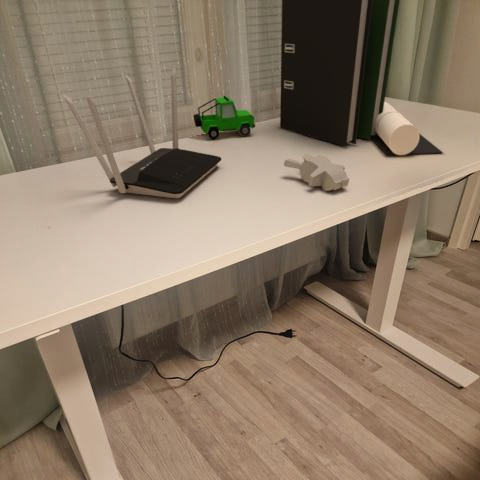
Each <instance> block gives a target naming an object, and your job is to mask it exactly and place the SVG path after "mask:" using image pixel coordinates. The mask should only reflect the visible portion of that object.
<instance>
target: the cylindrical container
mask: <svg viewBox="0 0 480 480" xmlns="http://www.w3.org/2000/svg"><path fill="white" fill-rule="evenodd" d="M375 131H376V133H377V134H378V135H379V137H380V138H381V139H382V140H383V141H384V142H385V144H386V145H387V146H388V147H389V148H390V149H391V151H392V152H393V153H395V154H397V155H396V156H406V155H405V154H408V153H410V152H411V151H413V150H414V149H415V147H416V146H417V144H418V142H419V138H420V135H421V134H420V131H419V129H418V128H417V127H416V126H415V125H414V124H413V123H412V122H411V121H409V120H408V119H407V118H406V117H405V116H404V115H402V114H401V112H399V111H398V110H396V108H394V107H393V106H392V105H391V104H390V103H389V102H387V101H384V108H383V112H382V113H381V114H379V115H378V116H377V118H376V121H375ZM419 134H420V135H419Z"/></svg>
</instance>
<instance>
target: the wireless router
mask: <svg viewBox="0 0 480 480" xmlns="http://www.w3.org/2000/svg"><path fill="white" fill-rule="evenodd" d="M124 77H125V79H126V83H127V86H128V89H129V91H130V94H131V97H132V101H133V103H134V106H135V109H136V112H137V115H138V118H139V121H140V124H141V127H142V129H143V133H144V136H145V139H146V143H147V145H148V147H149V151H150V154H149V155H147V156H145V157H143V158H142V159H141V160H139V161H137V162H136V163H134V164H132V165H130V166H128V167H127V168H126V169H124V170H122V171H120V169H119V167H118V164H117V161H116V159H115V156H114V152H113V150H112V147H111V145H110V142H109V139H108V136H107V134H106V131H105V128H104V126H103V123H102V120H101V117H100V115H99V114H100V113H99V112H98V108H97V106H96V103H94V102H93V100H92V99H91V98H86V101H87V105H88V108H89V110H90V114H91V116H92V118H93V121H94V124H95V128H96V130H97V132H98V135H99V139H100V142H101V144H102V147H103V150H104V153H105V155H106V158H107V161H108V162H107V161H106V159H105V157H104V155H103V153H102V151H101V150H100V148H99V146H98V144H97V143H96V140H95V139H94V137H93V135H92V134H91V132H90V130H89V128H88V126H87V124H86V122H85V121H84V119H83V117H82V116H81V114H80V112H79V110H78V108H77V107H76V105H75V103H74V101H73V99H72V98H71V97H70V96H68V95H67V94H65V93H64V94H63V95H62V97H63V99H64V100H65V102H66V104H67V106H68V108H69V109H70V110H71V113H72V115H73V116H74V118H75V120H76V122H77V124H78V127H80V129H81V131H82V134H83V135H84V137H85V138H86V140H87V142H88V144H89V145H90V148H91V149H92V152H93V153H94V154H95V156H96V159H97V160H98V162H99V164H100V166H101V167H102V169H103V171H104V173H105V175H106V177H107V179H108V180H109V183H110V184H111V186H112V188H115V187H117V190H118V192H119V193H120V194H125V193H127V194H134V195H135V194H136V195H145V196H154V197H161V198H169V199H180V198H181V197H183V196H184V195H185V194H187V192H188V191H190V190H191V189H192V188H193V187H195V185H196V184H198V183H199V182H200V181H202V179H204V178H205V177H206V176H207V175H208V174H210V173H211V172H212V171H214V170H215V168H216V167H217V166H218V164H219V163H220V162H221V161H222V158H221V156H218V155H214V154H208V153H203V152H198V151H192V150H187V149H180V148H179V126H178V125H179V124H178V123H179V121H178V94H177V93H178V91H177V68H176V67H175V68H174V67H173V68H172V70H171V73H170V81H171V82H170V83H171V85H170V86H171V130H172V131H171V132H172V137H171V138H172V139H171V140H172V148H171V147H170V148H169V147H162V148H158V149H156V148H155V145H154V143H153V139H152V136H151V134H150V130H149V128H148V124H147V122H146V119H145V116H144V113H143V110H142V107H141V105H140V100H139V98H138V95H137V92H136V89H135V87H134V84H133V81H132V79H131V78H130V77H129V75H128V74H125V76H124ZM108 163H109V164H108Z"/></svg>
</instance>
